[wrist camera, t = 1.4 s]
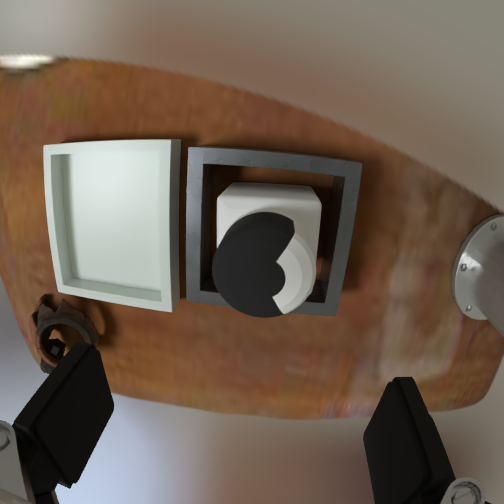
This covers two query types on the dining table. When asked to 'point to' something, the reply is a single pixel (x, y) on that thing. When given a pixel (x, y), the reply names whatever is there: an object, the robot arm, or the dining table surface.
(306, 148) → the dining table surface
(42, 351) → the broken pottery ring
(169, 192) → the tray
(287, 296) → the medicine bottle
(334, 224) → the holder
